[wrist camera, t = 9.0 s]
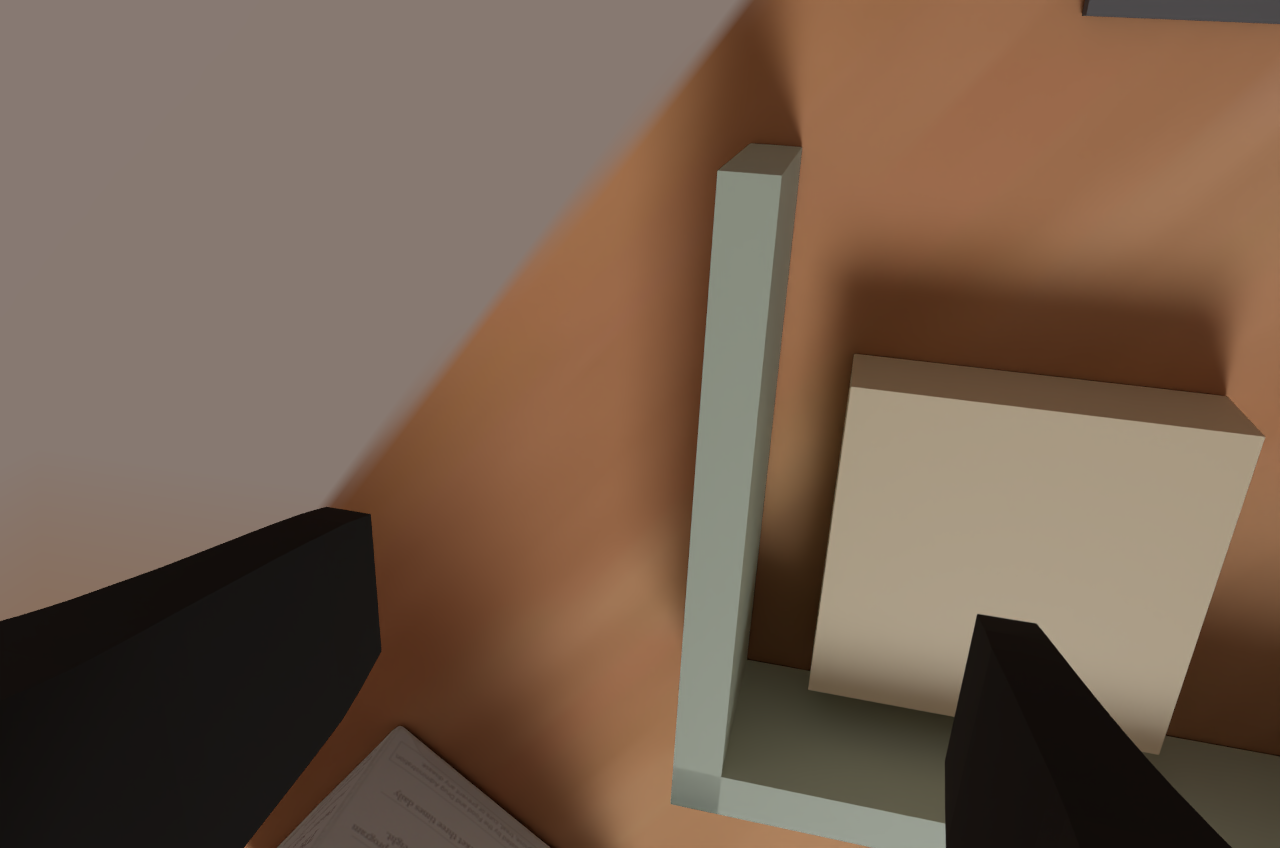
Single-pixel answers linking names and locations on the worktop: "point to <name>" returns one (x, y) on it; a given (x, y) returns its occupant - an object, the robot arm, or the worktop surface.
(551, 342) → the worktop surface
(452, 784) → the supplement box
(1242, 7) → the mat
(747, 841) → the worktop surface
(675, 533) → the worktop surface
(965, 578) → the crate
